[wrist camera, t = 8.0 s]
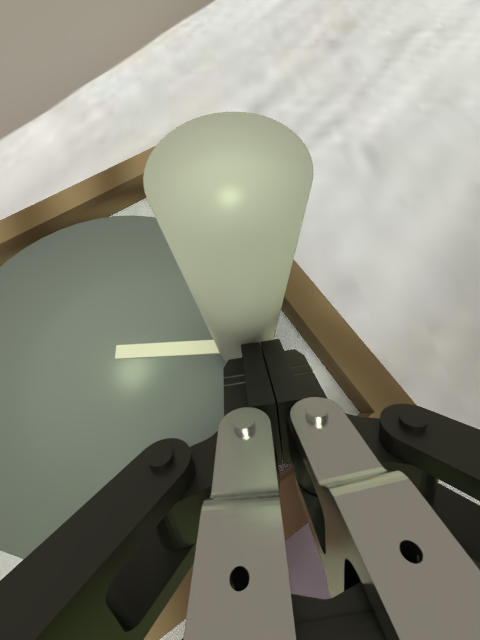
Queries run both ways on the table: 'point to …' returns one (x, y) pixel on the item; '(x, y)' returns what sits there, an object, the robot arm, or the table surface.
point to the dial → (142, 316)
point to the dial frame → (298, 305)
